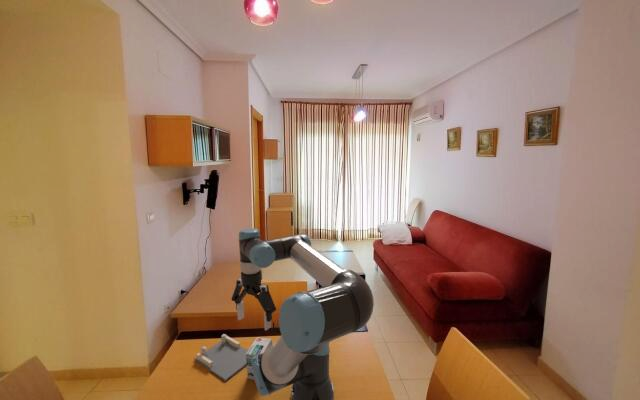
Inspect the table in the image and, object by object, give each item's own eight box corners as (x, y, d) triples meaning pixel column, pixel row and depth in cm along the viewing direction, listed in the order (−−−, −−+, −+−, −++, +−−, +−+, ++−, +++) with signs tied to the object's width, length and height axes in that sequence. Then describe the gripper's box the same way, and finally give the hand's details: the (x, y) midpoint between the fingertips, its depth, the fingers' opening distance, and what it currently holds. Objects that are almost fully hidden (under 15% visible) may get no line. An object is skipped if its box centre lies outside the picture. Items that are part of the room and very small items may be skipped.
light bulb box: (263, 382, 112) (262, 356, 110) (246, 379, 113) (245, 354, 111) (273, 362, 122) (272, 338, 120) (257, 359, 123) (256, 336, 121)
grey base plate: (257, 357, 125) (256, 346, 124) (225, 381, 112) (224, 370, 111) (226, 339, 136) (225, 330, 135) (194, 360, 123) (193, 349, 122)
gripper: (284, 273, 107) (286, 327, 110) (234, 261, 120) (237, 310, 123) (271, 281, 101) (273, 338, 104) (219, 267, 113) (223, 319, 117)
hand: (254, 323), depth 114 cm, fingers open, 13 cm apart
